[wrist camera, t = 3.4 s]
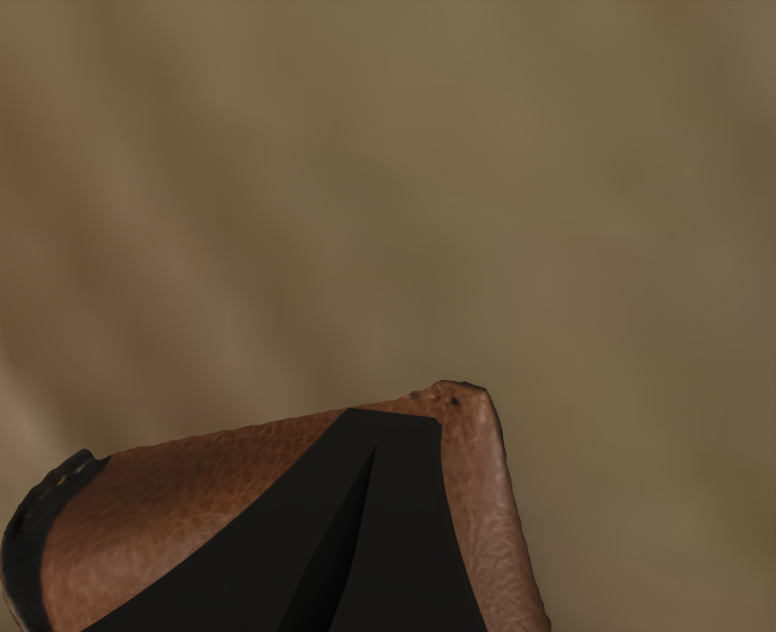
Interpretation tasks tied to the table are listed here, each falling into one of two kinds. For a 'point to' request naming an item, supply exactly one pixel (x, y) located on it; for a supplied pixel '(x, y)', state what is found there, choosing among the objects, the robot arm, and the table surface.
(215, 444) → the sunglasses case
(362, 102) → the table surface
